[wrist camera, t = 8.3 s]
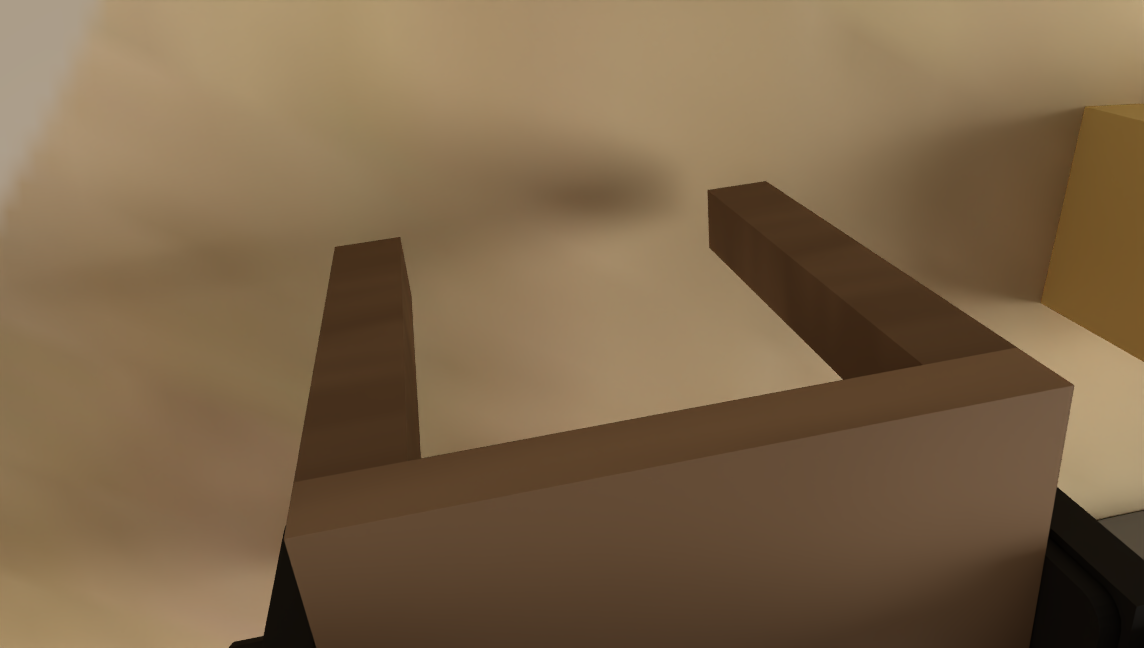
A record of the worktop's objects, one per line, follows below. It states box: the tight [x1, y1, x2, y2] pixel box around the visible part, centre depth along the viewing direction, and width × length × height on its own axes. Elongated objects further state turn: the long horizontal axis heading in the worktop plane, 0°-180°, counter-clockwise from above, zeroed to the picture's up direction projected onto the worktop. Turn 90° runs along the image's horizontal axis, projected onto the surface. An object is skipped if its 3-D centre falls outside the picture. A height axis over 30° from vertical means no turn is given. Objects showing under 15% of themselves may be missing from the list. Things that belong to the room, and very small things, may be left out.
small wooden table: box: [284, 181, 1074, 648], centre depth 12 cm, size 7×7×7 cm
